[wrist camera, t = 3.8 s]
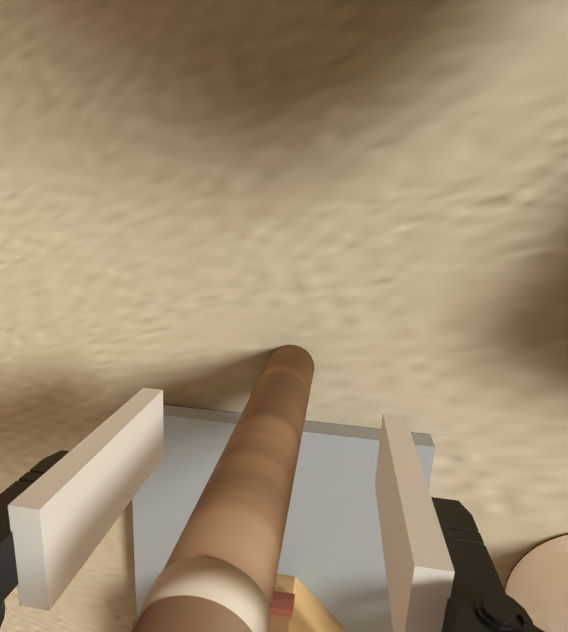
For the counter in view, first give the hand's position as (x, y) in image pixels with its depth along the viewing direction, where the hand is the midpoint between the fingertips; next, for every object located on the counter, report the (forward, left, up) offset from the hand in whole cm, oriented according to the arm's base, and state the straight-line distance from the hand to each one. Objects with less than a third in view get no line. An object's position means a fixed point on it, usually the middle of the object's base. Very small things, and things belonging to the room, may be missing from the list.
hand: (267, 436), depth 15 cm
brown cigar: (0, 0, -7) cm, 7 cm away
